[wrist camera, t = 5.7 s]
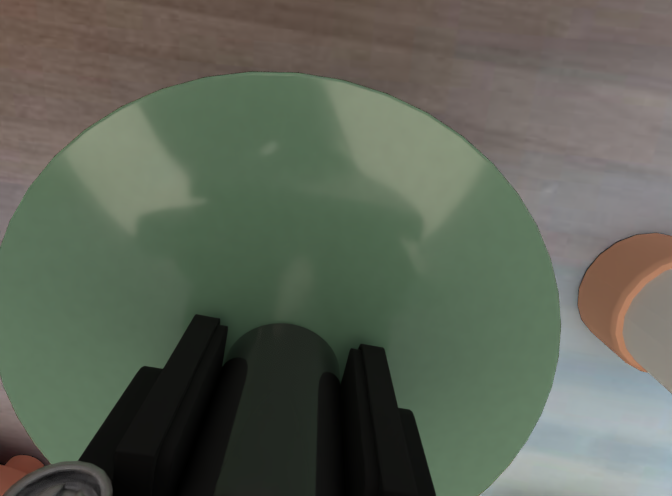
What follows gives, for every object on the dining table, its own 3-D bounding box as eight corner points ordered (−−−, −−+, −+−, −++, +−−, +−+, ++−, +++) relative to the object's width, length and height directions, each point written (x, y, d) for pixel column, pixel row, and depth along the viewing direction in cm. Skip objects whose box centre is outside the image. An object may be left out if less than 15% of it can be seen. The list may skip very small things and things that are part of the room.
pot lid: (15, 4, 9) (-597, -172, 3) (625, 148, 10) (1038, 223, 4) (27, 495, 13) (-207, 812, 7) (450, 551, 14) (535, 860, 9)
